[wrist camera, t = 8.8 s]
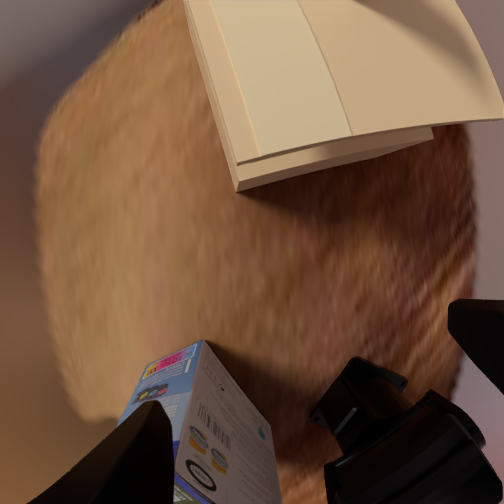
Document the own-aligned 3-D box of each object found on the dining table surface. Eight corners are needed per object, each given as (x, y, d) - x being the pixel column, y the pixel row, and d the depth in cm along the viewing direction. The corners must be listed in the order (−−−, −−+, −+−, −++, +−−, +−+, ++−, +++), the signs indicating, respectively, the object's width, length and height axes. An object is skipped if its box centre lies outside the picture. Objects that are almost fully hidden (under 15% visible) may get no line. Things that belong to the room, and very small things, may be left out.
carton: (375, 157, 19) (434, 138, 12) (236, 192, 19) (239, 181, 12) (320, 17, 18) (349, -37, 11) (191, 38, 17) (178, -23, 10)
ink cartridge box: (140, 366, 20) (63, 523, 6) (201, 333, 20) (166, 515, 6) (215, 450, 22) (212, 597, 7) (272, 425, 22) (306, 581, 7)
